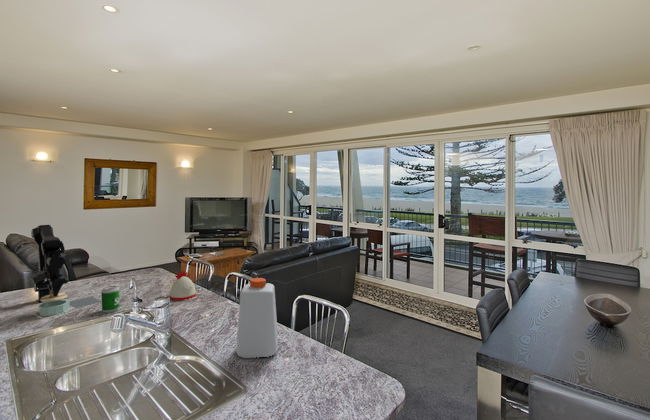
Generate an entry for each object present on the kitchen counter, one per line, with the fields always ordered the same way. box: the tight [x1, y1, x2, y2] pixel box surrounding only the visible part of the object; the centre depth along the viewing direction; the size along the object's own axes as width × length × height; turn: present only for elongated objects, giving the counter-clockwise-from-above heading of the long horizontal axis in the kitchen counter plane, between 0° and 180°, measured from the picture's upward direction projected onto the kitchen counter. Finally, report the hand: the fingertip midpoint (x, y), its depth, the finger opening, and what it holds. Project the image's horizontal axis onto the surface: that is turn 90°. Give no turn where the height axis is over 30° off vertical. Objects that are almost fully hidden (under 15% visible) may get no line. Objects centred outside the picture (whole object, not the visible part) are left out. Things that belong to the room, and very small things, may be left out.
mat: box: [69, 296, 102, 309], centre depth 177 cm, size 14×12×1 cm
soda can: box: [100, 285, 121, 314], centre depth 165 cm, size 8×8×12 cm
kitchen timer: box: [169, 270, 197, 301], centre depth 188 cm, size 14×14×15 cm
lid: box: [40, 289, 68, 303], centre depth 162 cm, size 10×10×4 cm
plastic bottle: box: [236, 277, 279, 359], centre depth 128 cm, size 15×15×28 cm
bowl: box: [38, 299, 71, 317], centre depth 163 cm, size 11×11×4 cm
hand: (54, 295), depth 162 cm, fingers closed on lid, 3 cm apart
